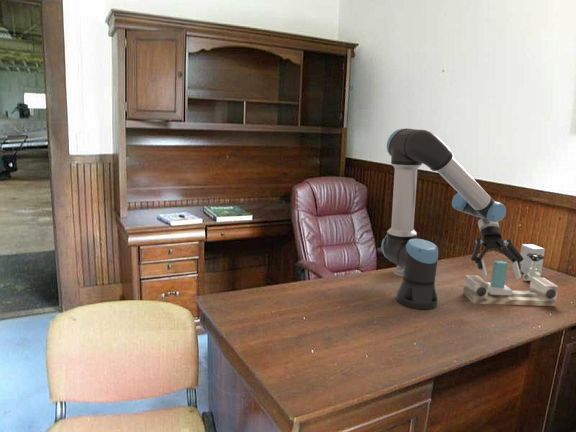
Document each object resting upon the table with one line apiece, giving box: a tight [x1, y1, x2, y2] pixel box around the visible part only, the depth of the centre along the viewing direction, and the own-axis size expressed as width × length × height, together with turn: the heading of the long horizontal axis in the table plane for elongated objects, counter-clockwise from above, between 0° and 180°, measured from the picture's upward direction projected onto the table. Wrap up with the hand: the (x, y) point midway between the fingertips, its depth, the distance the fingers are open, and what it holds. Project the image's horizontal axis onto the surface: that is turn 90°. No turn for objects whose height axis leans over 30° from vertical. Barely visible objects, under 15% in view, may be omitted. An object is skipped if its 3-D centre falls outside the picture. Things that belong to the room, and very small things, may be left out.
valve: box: [522, 253, 545, 282], centre depth 202 cm, size 7×7×12 cm
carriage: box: [486, 260, 513, 296], centre depth 178 cm, size 8×8×13 cm
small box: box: [519, 243, 546, 276], centre depth 212 cm, size 8×6×13 cm
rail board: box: [462, 274, 559, 307], centre depth 179 cm, size 32×10×8 cm, turn 91°
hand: (501, 277), depth 175 cm, fingers open, 13 cm apart
